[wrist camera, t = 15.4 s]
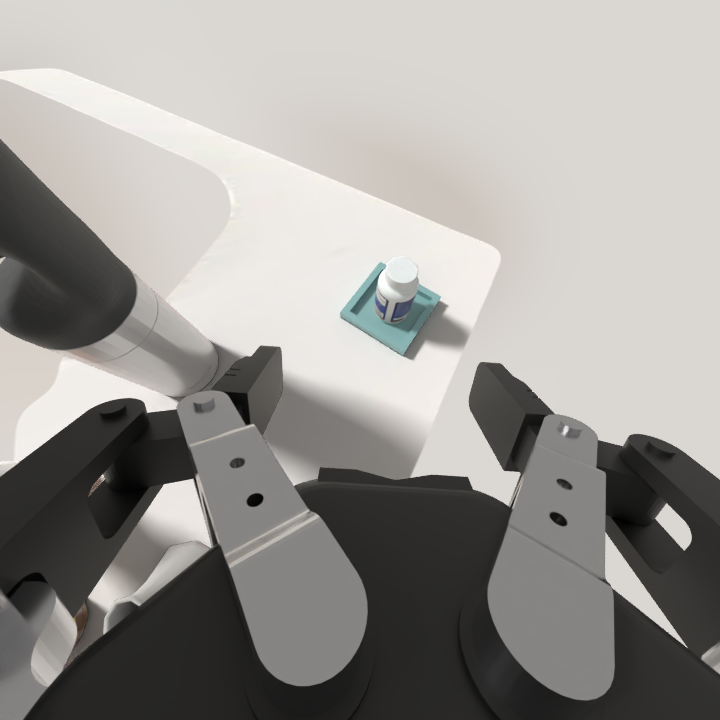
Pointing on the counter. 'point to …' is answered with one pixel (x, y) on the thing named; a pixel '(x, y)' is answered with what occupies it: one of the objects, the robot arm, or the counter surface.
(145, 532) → the counter surface
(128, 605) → the flask
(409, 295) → the pill bottle
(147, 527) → the counter surface
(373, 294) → the tray
